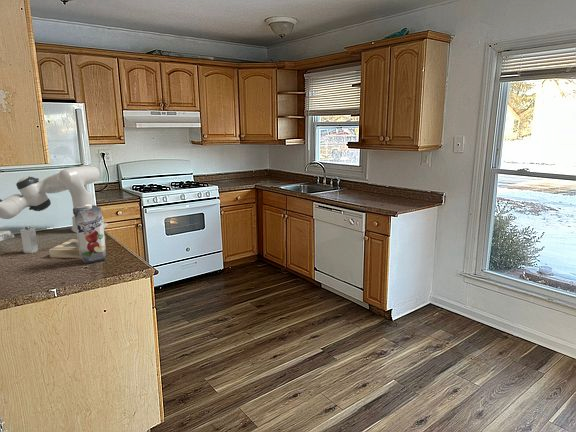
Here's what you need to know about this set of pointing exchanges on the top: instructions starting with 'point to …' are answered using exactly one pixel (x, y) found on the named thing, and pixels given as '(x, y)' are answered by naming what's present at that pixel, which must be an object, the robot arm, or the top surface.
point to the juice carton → (90, 233)
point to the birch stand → (66, 250)
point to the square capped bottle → (29, 240)
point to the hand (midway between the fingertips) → (6, 238)
